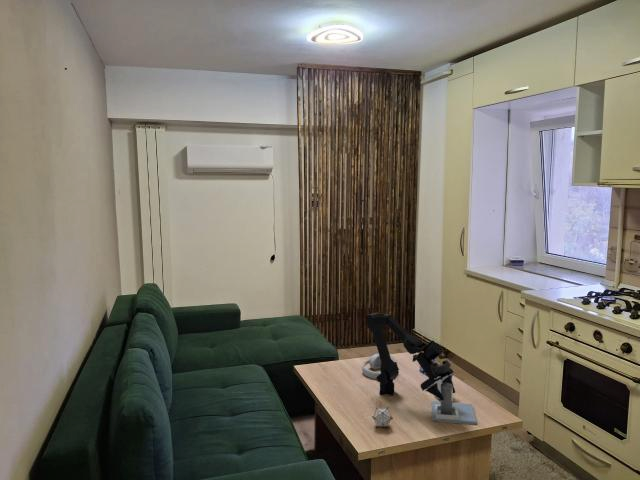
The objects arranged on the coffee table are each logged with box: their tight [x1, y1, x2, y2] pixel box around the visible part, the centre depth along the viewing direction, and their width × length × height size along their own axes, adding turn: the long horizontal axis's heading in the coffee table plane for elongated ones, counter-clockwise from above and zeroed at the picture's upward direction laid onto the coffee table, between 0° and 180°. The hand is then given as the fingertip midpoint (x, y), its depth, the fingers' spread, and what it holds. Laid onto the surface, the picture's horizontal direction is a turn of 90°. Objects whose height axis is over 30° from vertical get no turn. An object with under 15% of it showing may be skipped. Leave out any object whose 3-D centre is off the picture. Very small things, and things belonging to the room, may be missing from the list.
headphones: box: [361, 353, 396, 380], centre depth 252 cm, size 18×8×20 cm
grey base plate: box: [430, 400, 478, 425], centre depth 207 cm, size 18×16×3 cm
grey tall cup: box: [440, 383, 454, 415], centre depth 204 cm, size 5×5×13 cm
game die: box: [371, 406, 394, 429], centre depth 197 cm, size 9×8×10 cm
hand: (449, 396), depth 203 cm, fingers open, 9 cm apart
